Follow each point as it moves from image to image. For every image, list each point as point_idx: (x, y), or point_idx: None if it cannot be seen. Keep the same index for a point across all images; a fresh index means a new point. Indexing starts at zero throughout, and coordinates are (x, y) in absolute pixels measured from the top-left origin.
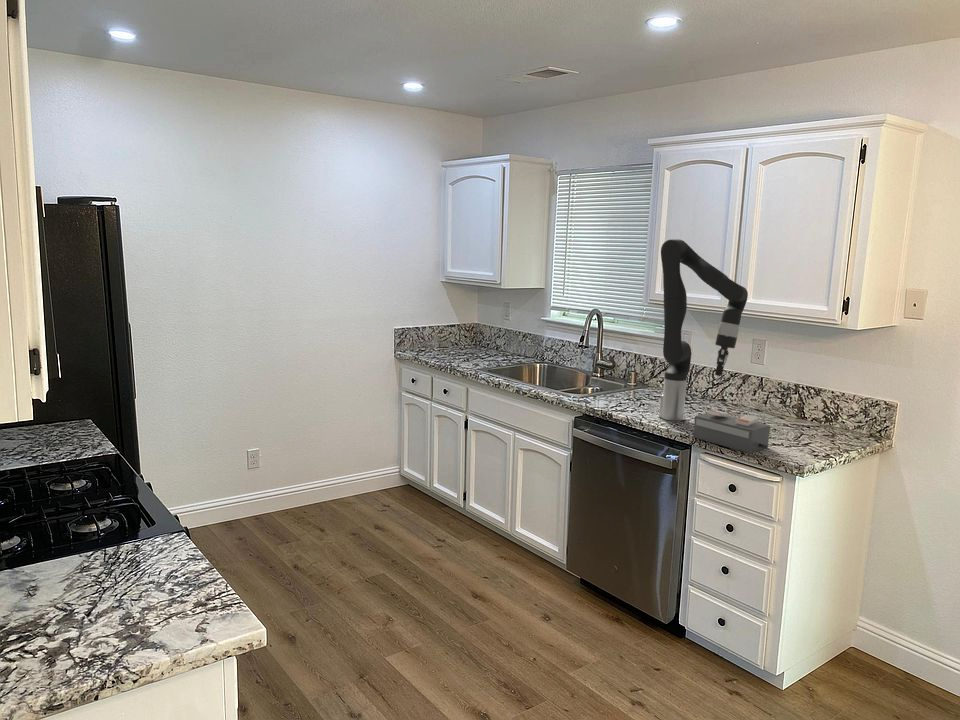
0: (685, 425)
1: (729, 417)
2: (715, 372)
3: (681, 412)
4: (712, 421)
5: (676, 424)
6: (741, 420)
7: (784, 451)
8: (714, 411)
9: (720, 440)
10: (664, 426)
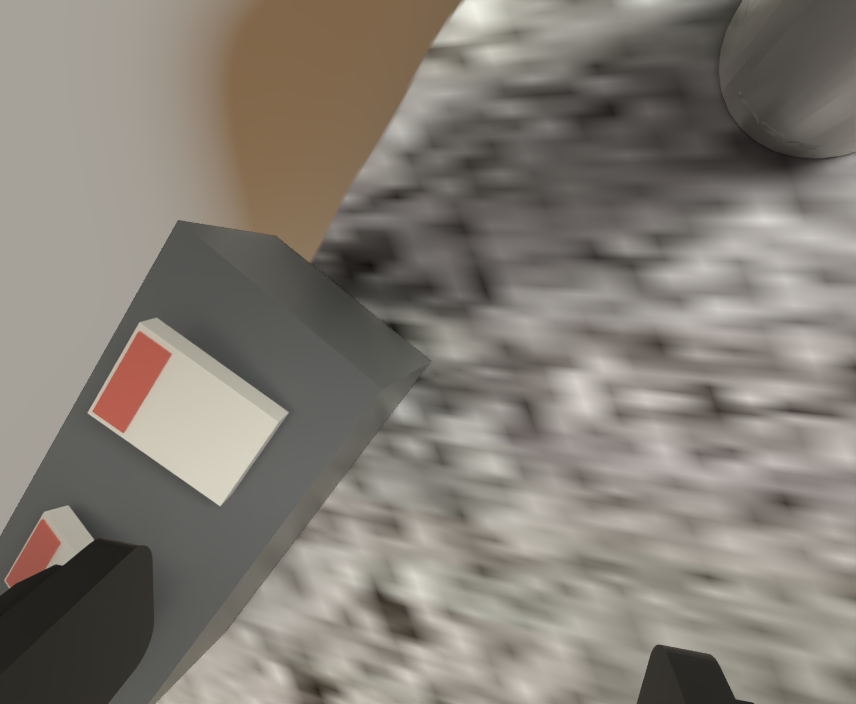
0: (599, 181)
1: (236, 497)
2: (63, 566)
3: (776, 115)
4: (111, 351)
5: (608, 108)
6: (31, 552)
7: (206, 697)
8: (113, 378)
9: None
10: (507, 18)
